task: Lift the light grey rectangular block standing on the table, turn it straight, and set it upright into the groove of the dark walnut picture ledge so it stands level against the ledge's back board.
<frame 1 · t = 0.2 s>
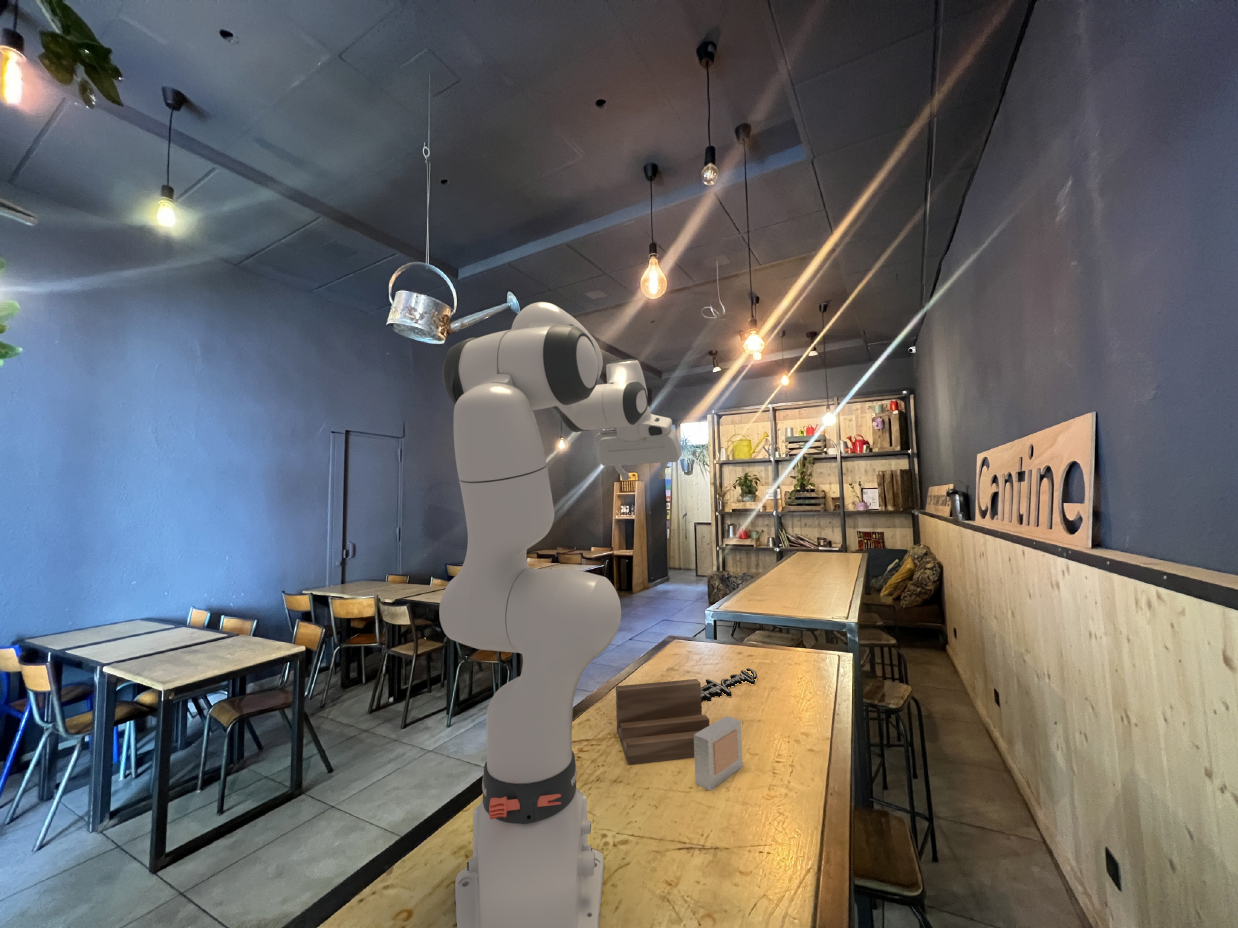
hand: (643, 478, 119), 54 cm above the table, tool tilted 30°, fingers open, 8 cm apart
nameplate: (725, 689, 123), on the table
light grey rectangular block: (719, 775, 83), on the table
picture ledge: (669, 747, 93), on the table
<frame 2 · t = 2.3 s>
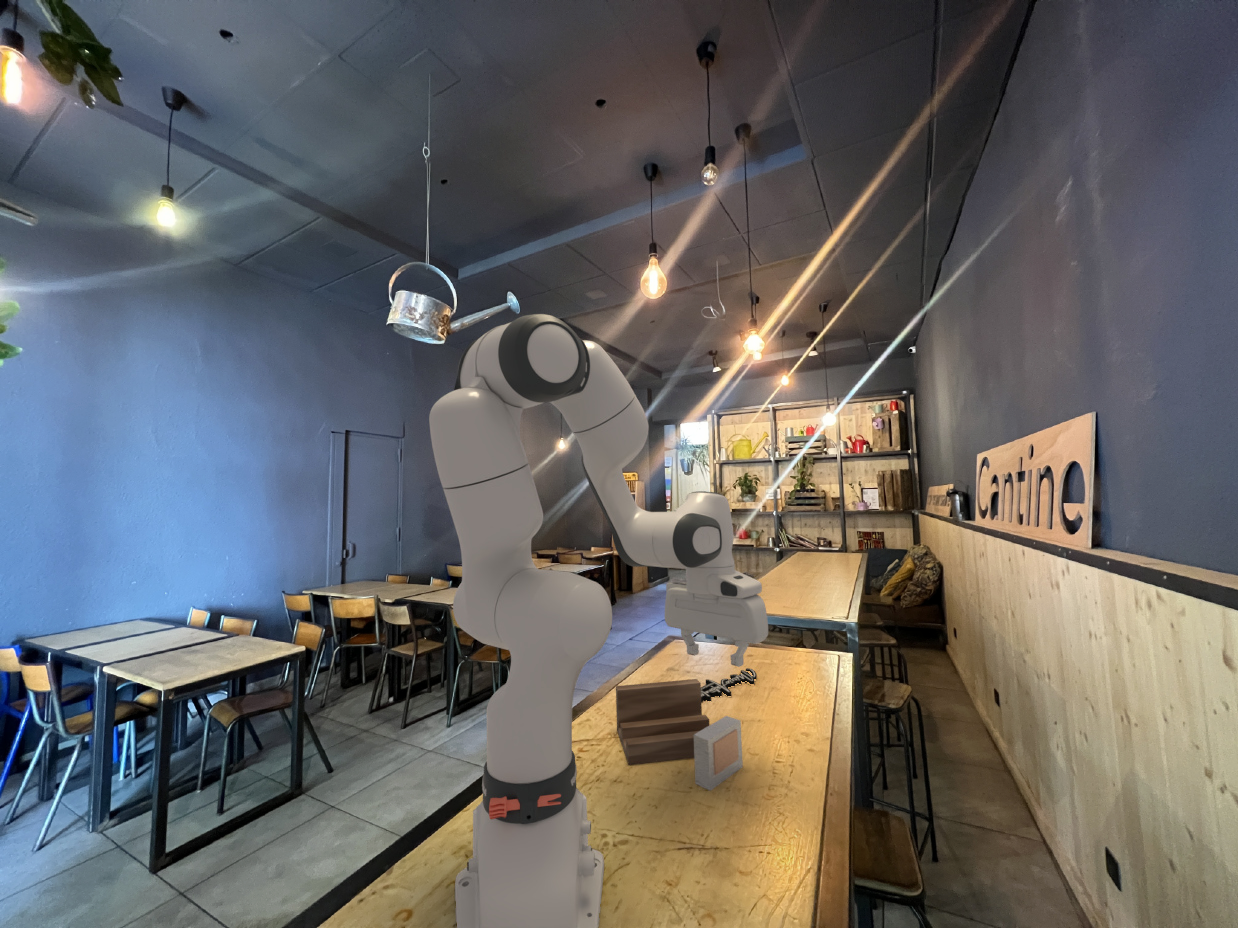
hand: (714, 659, 86), 19 cm above the table, tool pointing down, fingers open, 8 cm apart
nothing on the table moved.
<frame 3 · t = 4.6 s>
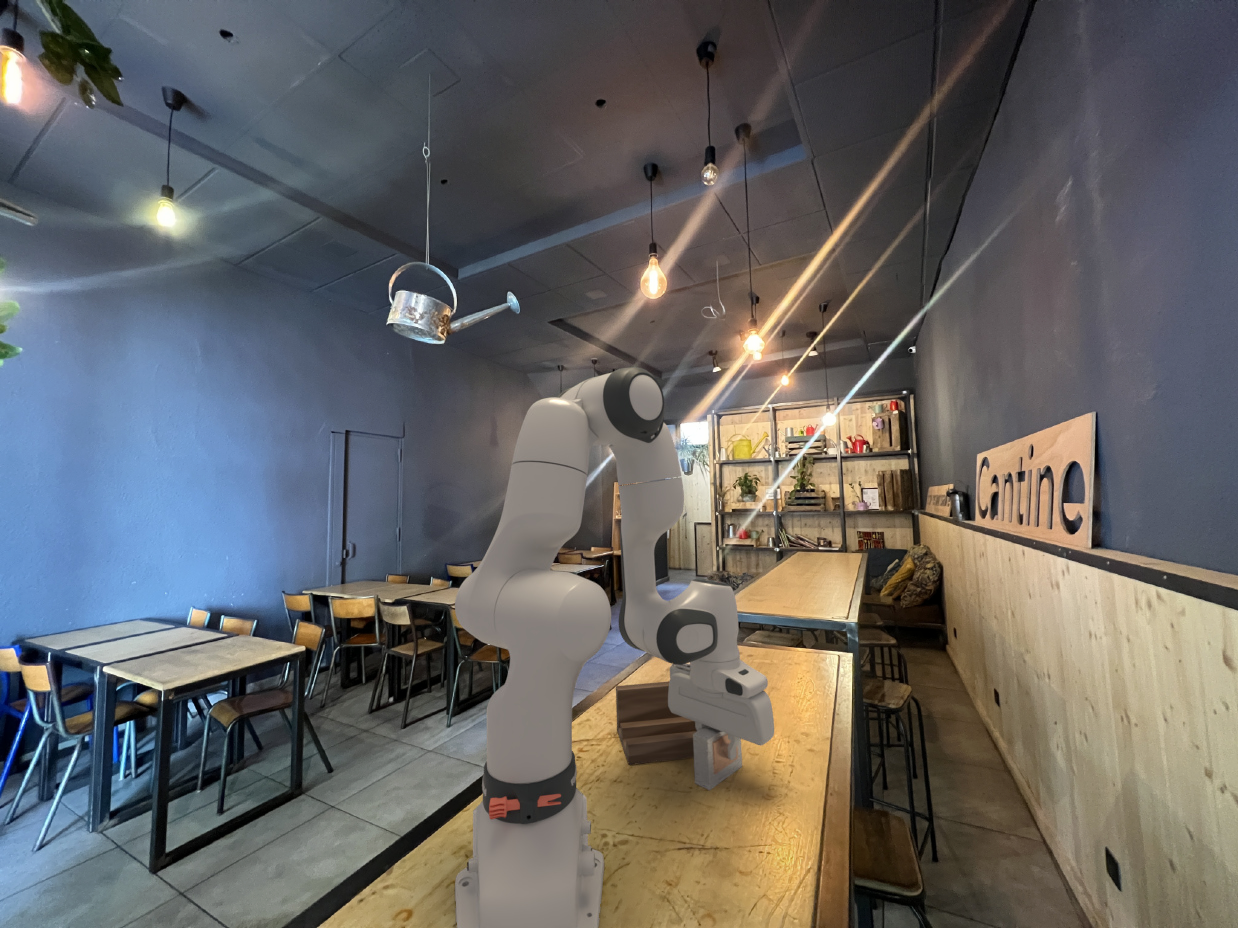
hand: (718, 752, 84), 4 cm above the table, tool pointing down, fingers closed on light grey rectangular block, 3 cm apart
light grey rectangular block: (719, 774, 84), on the table, touching gripper
everything else where it was.
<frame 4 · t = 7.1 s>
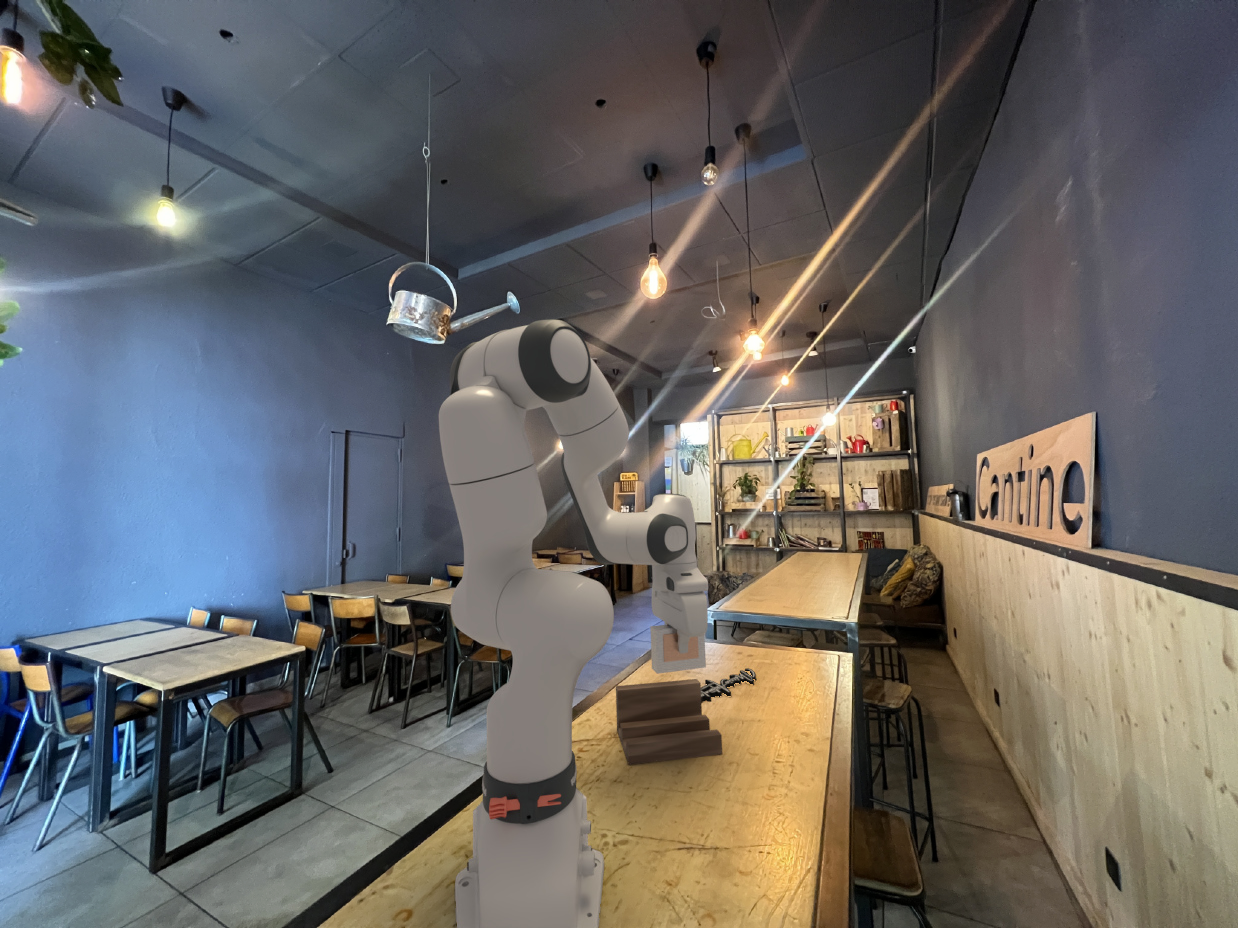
hand: (677, 648, 93), 19 cm above the table, tool pointing down, fingers closed on light grey rectangular block, 3 cm apart
light grey rectangular block: (678, 667, 93), point 16 cm above the table, touching gripper
everything else where it was.
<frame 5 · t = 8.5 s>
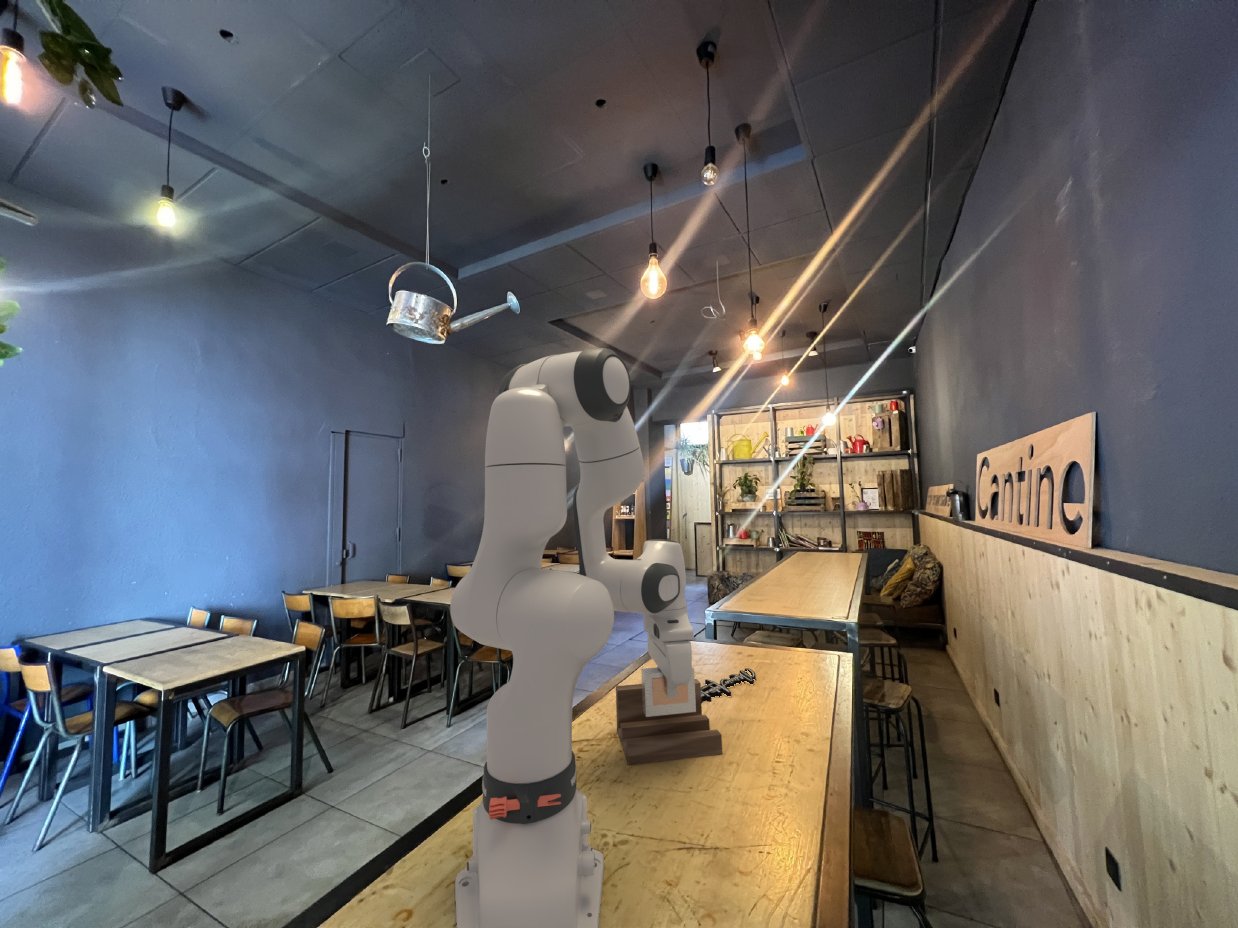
hand: (668, 692, 94), 10 cm above the table, tool pointing down, fingers closed on light grey rectangular block, 3 cm apart
light grey rectangular block: (669, 710, 94), point 7 cm above the table, touching gripper
everything else where it was.
when the fingers open (6 cm above the table, at t = 9.6 s): light grey rectangular block stays where it is, resting on picture ledge.
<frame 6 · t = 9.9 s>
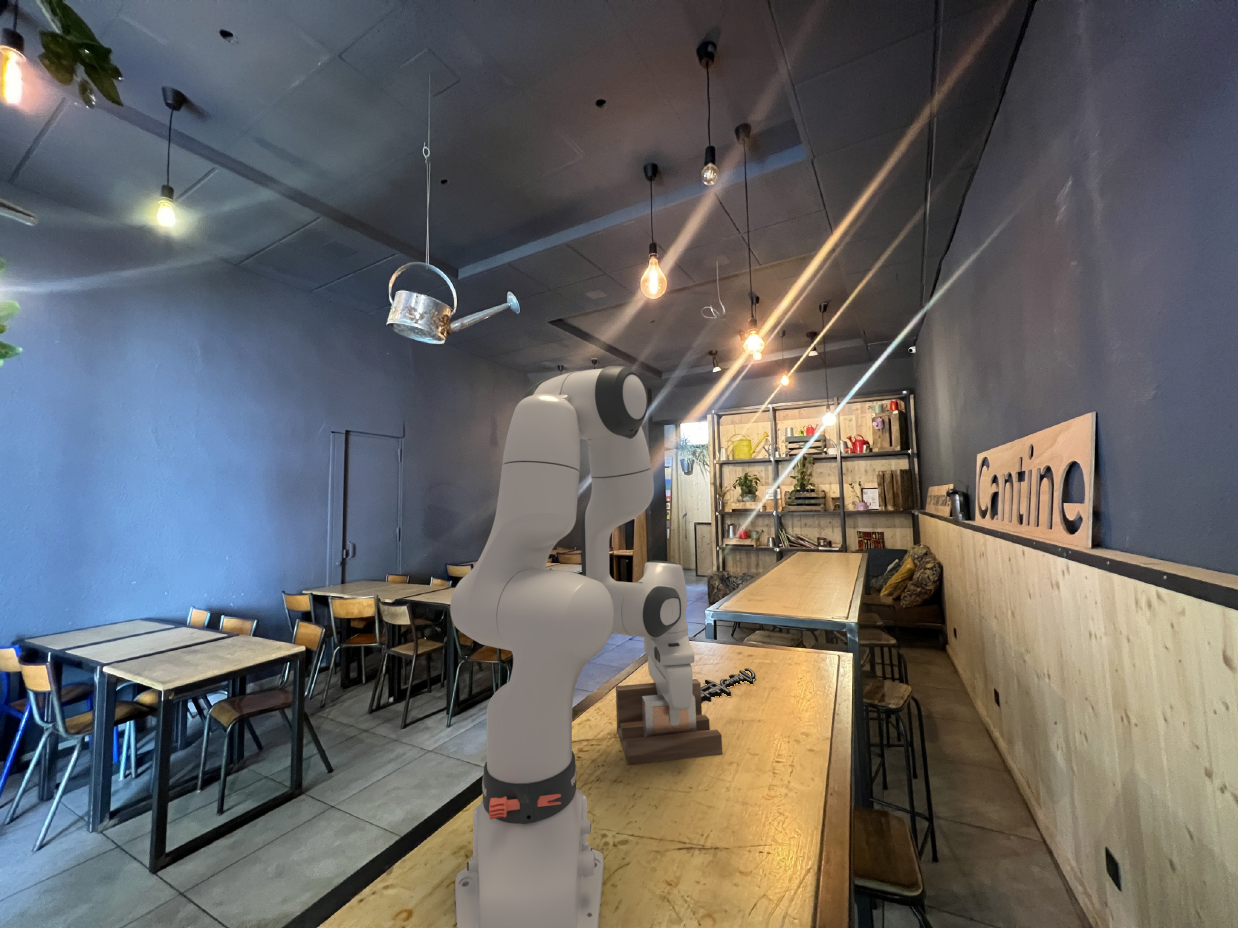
hand: (668, 714, 94), 6 cm above the table, tool pointing down, fingers open, 6 cm apart
light grey rectangular block: (669, 739, 94), point 2 cm above the table, touching picture ledge
everything else where it was.
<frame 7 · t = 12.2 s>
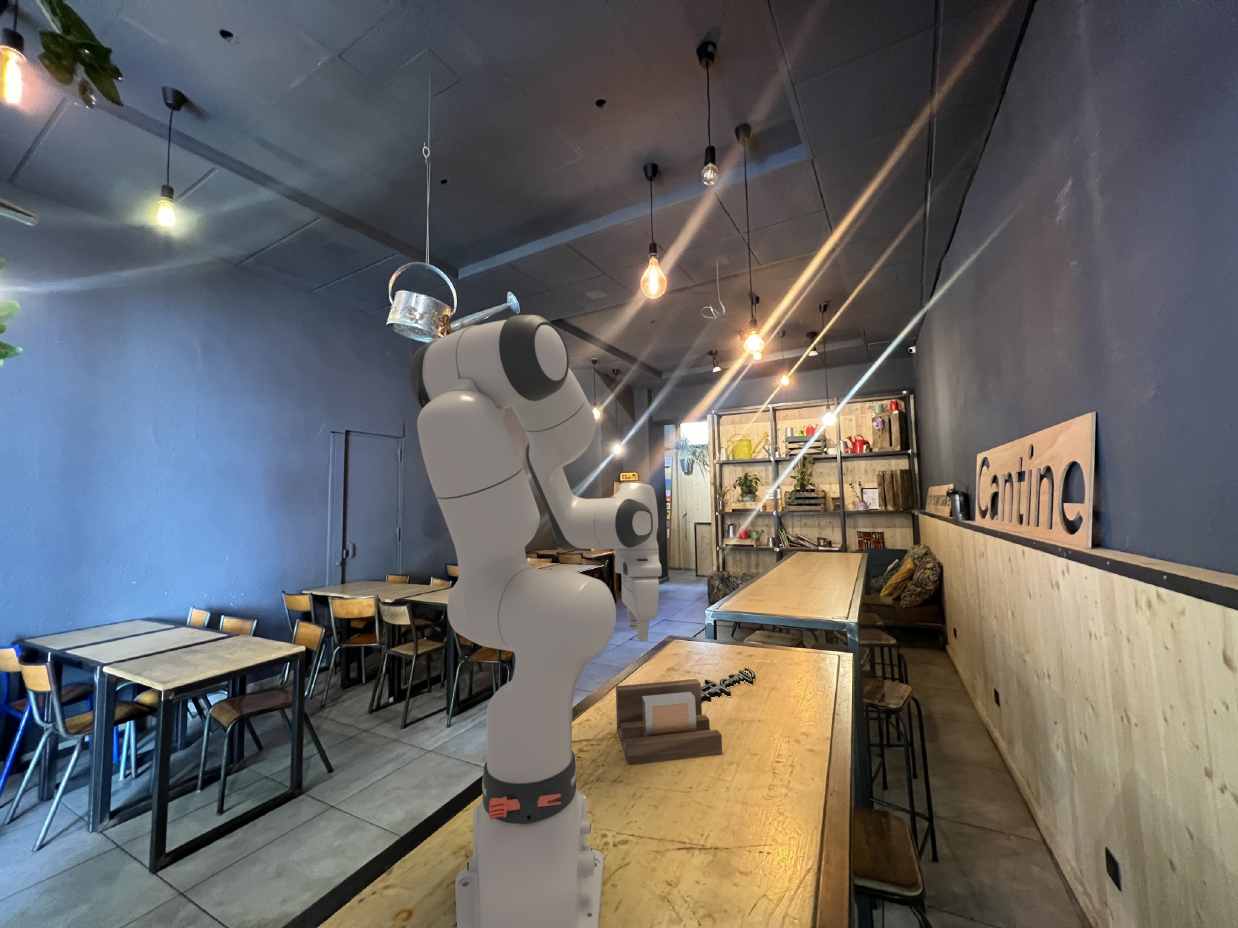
hand: (637, 634, 95), 22 cm above the table, tool pointing down, fingers open, 8 cm apart
nothing on the table moved.
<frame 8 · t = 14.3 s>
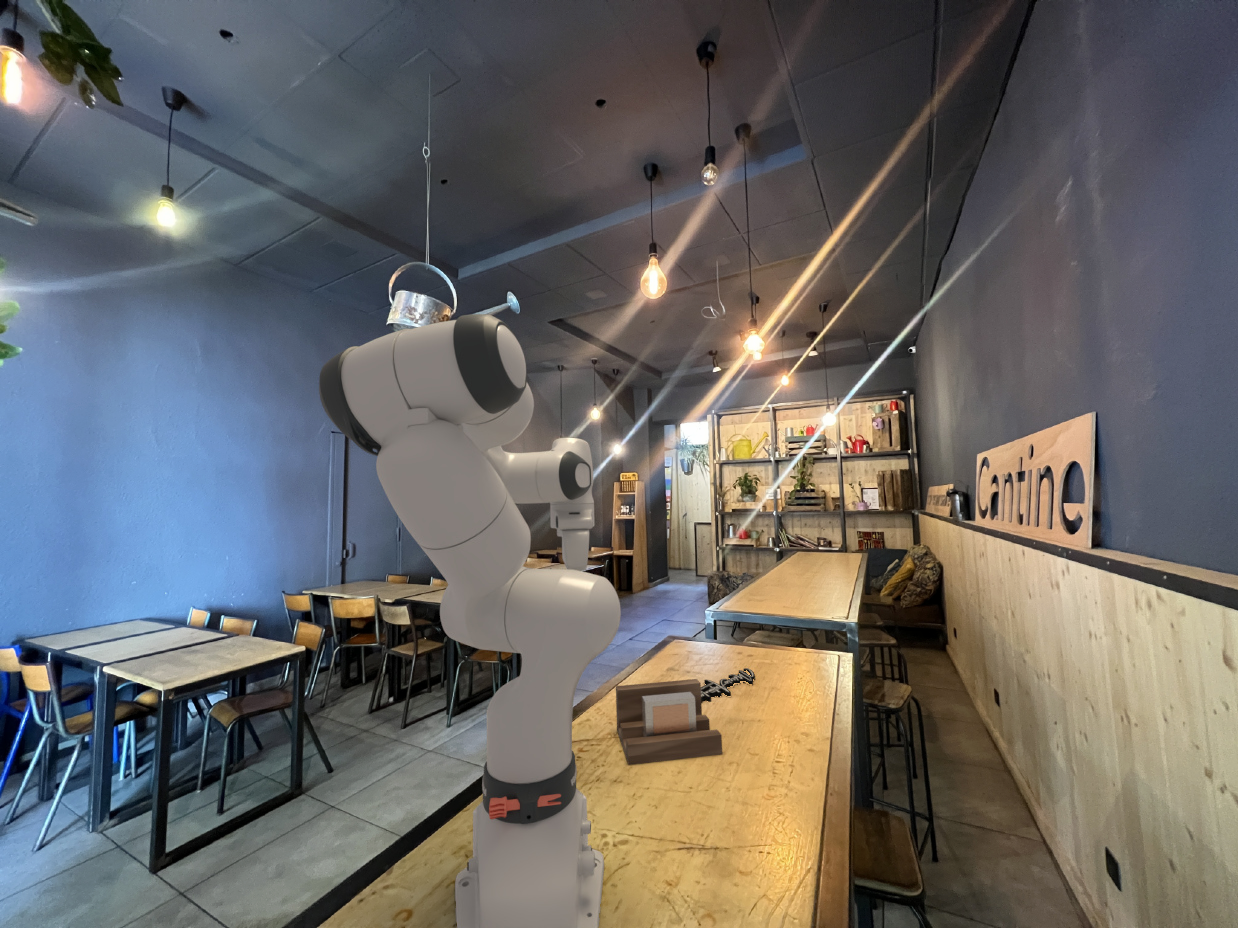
hand: (573, 588, 95), 31 cm above the table, tool pointing down, fingers open, 8 cm apart
nothing on the table moved.
at the end: light grey rectangular block inside the target area on the picture ledge (0.0 cm from its centre), point 1.5 cm above the picture ledge's base; light grey rectangular block tilted 0°; the gripper is holding nothing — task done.
